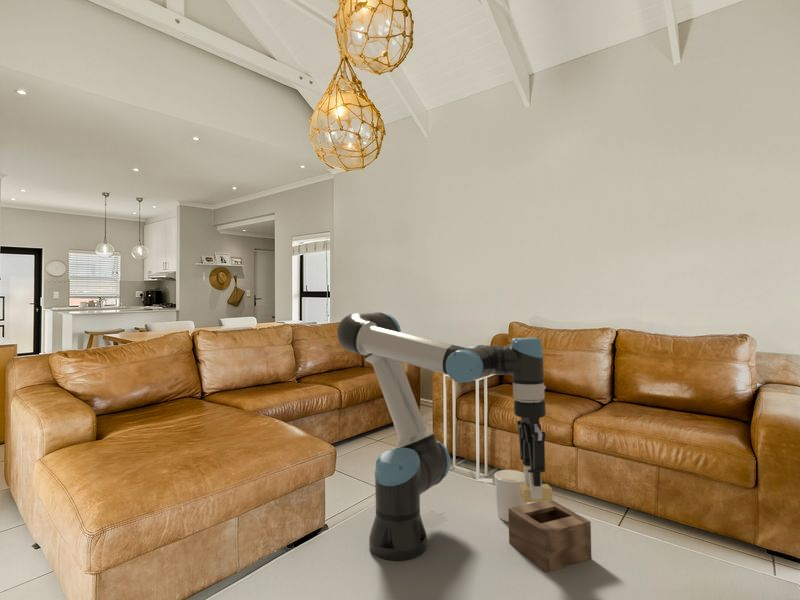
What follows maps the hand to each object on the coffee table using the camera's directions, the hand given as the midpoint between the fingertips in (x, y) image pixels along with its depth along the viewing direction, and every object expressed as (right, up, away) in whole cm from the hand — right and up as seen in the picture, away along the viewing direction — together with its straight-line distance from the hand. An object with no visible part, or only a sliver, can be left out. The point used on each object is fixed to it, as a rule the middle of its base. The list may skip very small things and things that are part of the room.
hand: (533, 495), depth 107 cm
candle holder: (0, -16, +21) cm, 27 cm away
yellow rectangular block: (+1, -1, 0) cm, 1 cm away
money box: (+5, -15, +3) cm, 16 cm away
